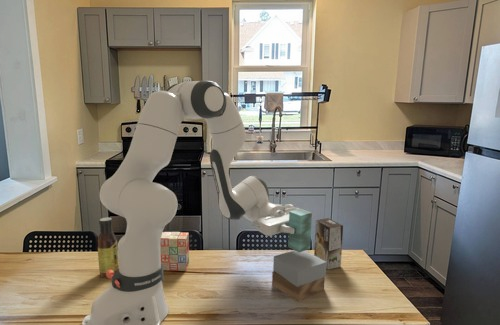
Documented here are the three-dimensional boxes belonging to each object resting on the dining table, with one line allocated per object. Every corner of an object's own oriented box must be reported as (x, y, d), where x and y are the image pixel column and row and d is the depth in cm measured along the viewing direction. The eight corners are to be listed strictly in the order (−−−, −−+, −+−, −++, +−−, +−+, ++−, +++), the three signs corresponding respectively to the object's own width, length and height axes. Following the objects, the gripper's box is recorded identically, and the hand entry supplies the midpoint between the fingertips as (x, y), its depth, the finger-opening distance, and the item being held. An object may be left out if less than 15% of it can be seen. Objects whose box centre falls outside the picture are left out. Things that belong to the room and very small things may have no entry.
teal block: (299, 252, 105) (300, 215, 103) (288, 247, 109) (289, 211, 107) (310, 248, 108) (311, 212, 106) (299, 243, 112) (300, 208, 110)
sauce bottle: (119, 276, 116) (116, 221, 112) (99, 280, 113) (96, 223, 110) (118, 267, 122) (115, 215, 118) (99, 271, 119) (95, 217, 115)
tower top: (297, 287, 102) (298, 271, 101) (273, 270, 112) (273, 256, 111) (325, 276, 108) (326, 261, 107) (300, 261, 118) (301, 248, 117)
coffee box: (341, 266, 125) (344, 225, 122) (327, 270, 122) (330, 228, 119) (326, 256, 133) (328, 217, 130) (312, 259, 130) (314, 219, 127)
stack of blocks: (126, 270, 120) (124, 238, 118) (132, 262, 126) (130, 231, 124) (186, 270, 120) (186, 238, 118) (189, 262, 126) (189, 231, 124)
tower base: (298, 302, 102) (299, 287, 101) (272, 285, 112) (272, 271, 111) (324, 289, 110) (324, 275, 109) (297, 274, 119) (297, 261, 118)
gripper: (249, 214, 111) (278, 226, 100) (293, 203, 123) (323, 213, 112) (249, 232, 112) (277, 246, 101) (293, 219, 124) (322, 231, 113)
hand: (302, 229), depth 107 cm, fingers closed on teal block, 5 cm apart
